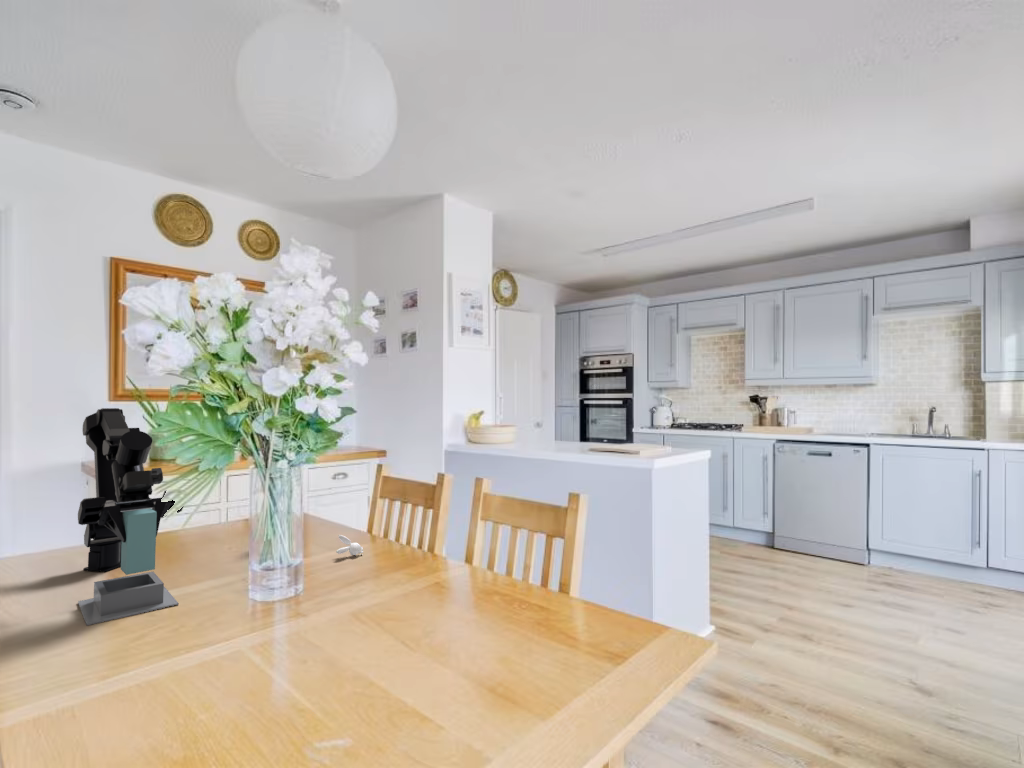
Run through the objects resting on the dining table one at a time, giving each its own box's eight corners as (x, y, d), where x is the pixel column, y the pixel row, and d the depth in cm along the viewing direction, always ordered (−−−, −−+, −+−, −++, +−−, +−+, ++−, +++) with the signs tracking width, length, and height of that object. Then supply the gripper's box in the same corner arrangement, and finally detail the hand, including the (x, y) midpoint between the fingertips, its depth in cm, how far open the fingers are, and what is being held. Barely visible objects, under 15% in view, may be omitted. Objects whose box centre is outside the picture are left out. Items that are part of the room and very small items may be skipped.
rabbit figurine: (365, 558, 145) (338, 548, 142) (357, 567, 147) (330, 557, 143) (367, 541, 150) (341, 531, 147) (359, 550, 152) (334, 540, 148)
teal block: (120, 569, 112) (122, 511, 113) (148, 564, 116) (150, 508, 116) (126, 574, 109) (128, 515, 109) (154, 569, 113) (156, 512, 113)
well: (78, 603, 111) (78, 581, 112) (162, 586, 122) (163, 566, 122) (86, 625, 101) (87, 601, 101) (178, 605, 111) (179, 583, 111)
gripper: (82, 459, 109) (89, 523, 101) (185, 453, 123) (199, 509, 115) (74, 493, 114) (81, 556, 106) (174, 483, 128) (187, 539, 120)
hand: (140, 538), depth 112 cm, fingers closed on teal block, 5 cm apart
